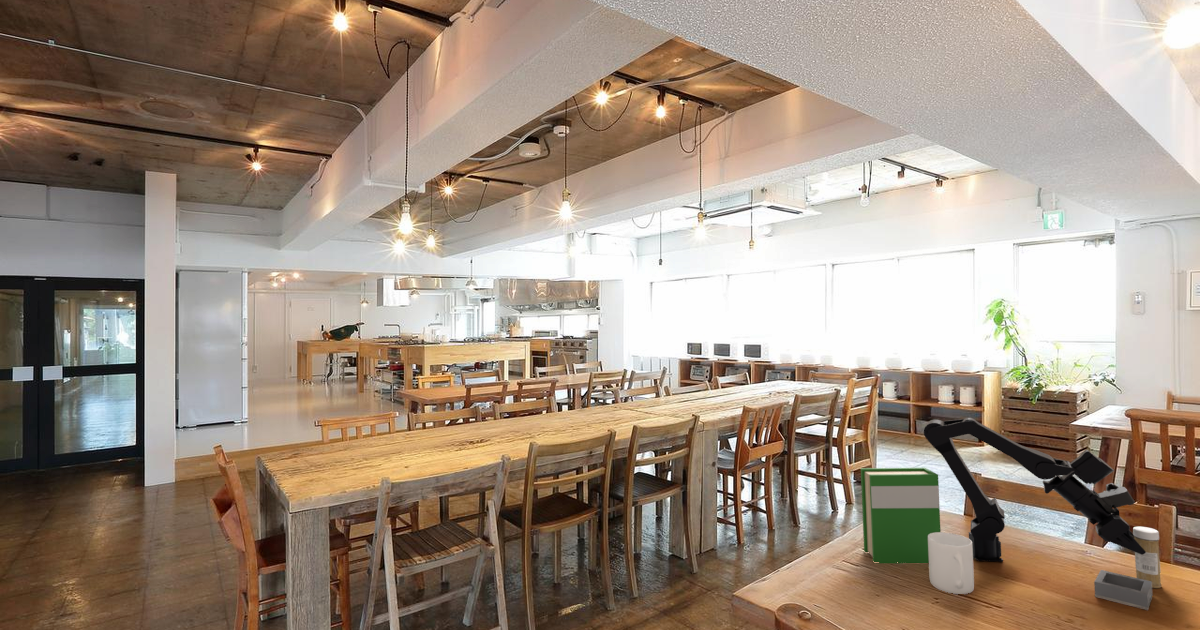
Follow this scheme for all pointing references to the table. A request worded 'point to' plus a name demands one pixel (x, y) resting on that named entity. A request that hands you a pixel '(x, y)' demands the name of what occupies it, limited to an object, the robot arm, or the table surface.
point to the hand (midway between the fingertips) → (1139, 546)
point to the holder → (1123, 589)
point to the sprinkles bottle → (1148, 555)
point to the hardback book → (899, 513)
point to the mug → (951, 562)
